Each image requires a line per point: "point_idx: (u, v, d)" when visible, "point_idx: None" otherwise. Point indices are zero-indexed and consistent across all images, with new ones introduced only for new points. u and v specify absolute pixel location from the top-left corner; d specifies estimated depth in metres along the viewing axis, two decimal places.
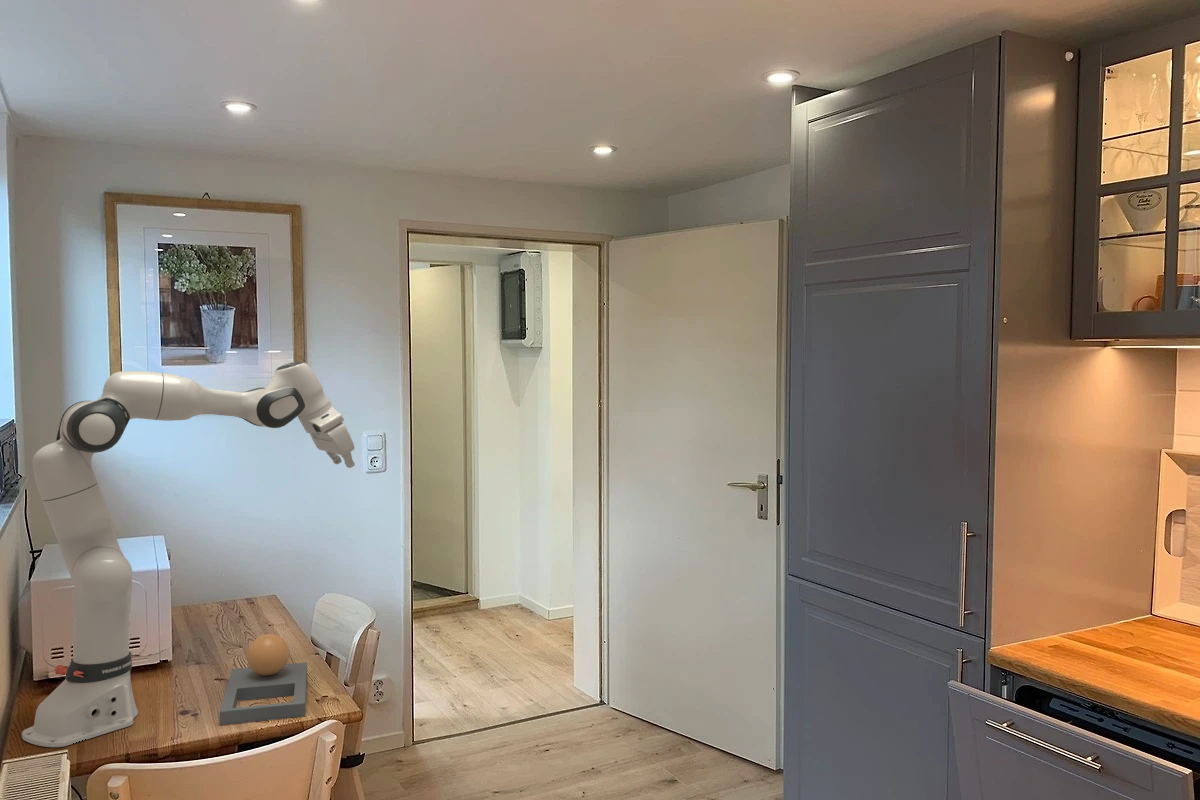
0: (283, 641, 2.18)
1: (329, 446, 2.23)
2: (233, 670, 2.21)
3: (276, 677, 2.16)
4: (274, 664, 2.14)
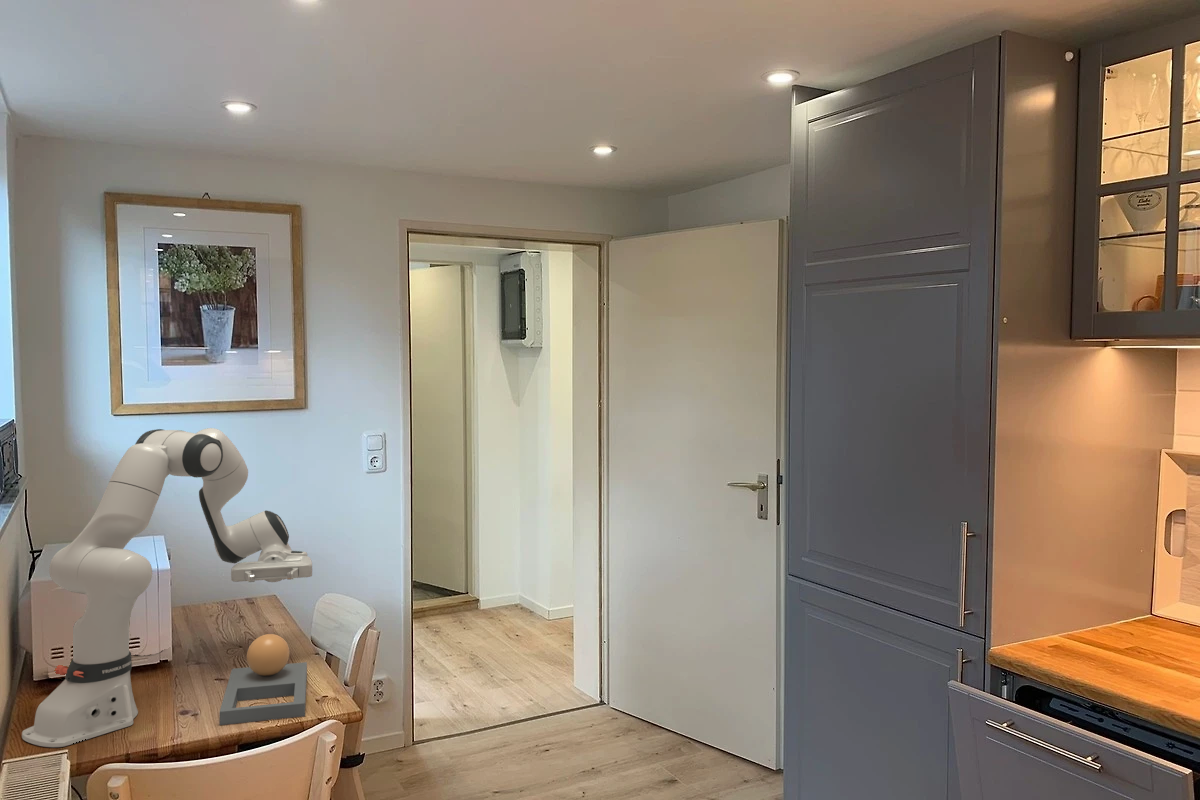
0: (283, 641, 2.18)
1: (281, 563, 2.33)
2: (233, 670, 2.21)
3: (276, 677, 2.16)
4: (274, 664, 2.14)
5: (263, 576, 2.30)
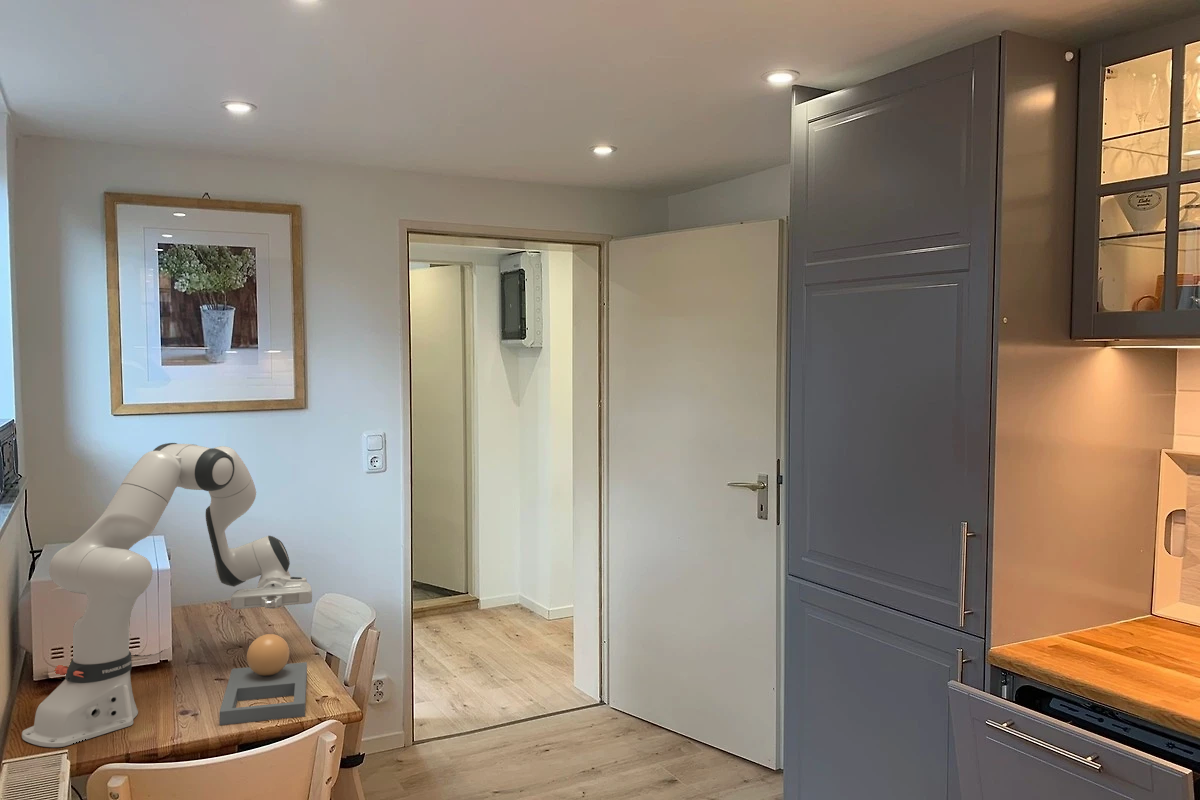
0: (283, 641, 2.18)
1: (281, 590, 2.34)
2: (233, 670, 2.21)
3: (276, 677, 2.16)
4: (274, 664, 2.14)
5: None
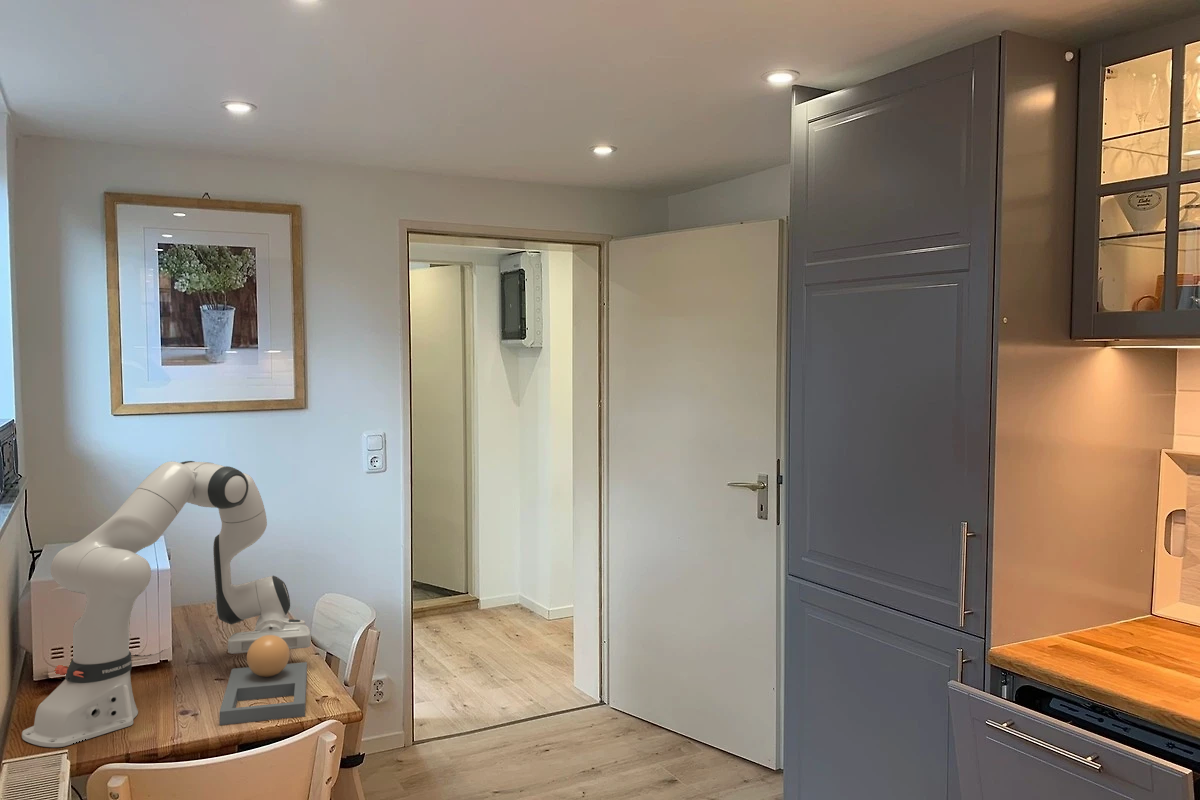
0: (283, 643, 2.17)
1: (279, 634, 2.29)
2: (233, 670, 2.21)
3: (276, 677, 2.16)
4: (274, 667, 2.13)
5: None
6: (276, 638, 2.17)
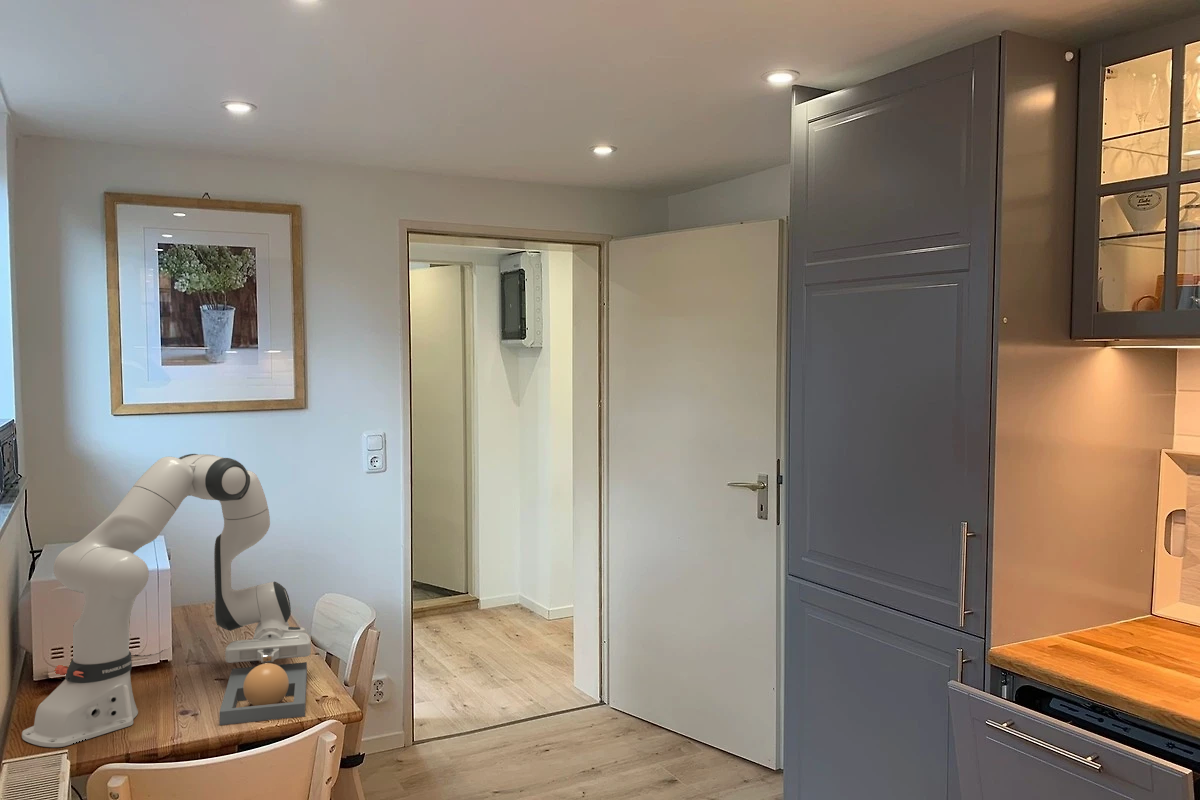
0: None
1: (278, 642, 2.22)
2: (233, 670, 2.21)
3: None
4: None
5: None
6: None
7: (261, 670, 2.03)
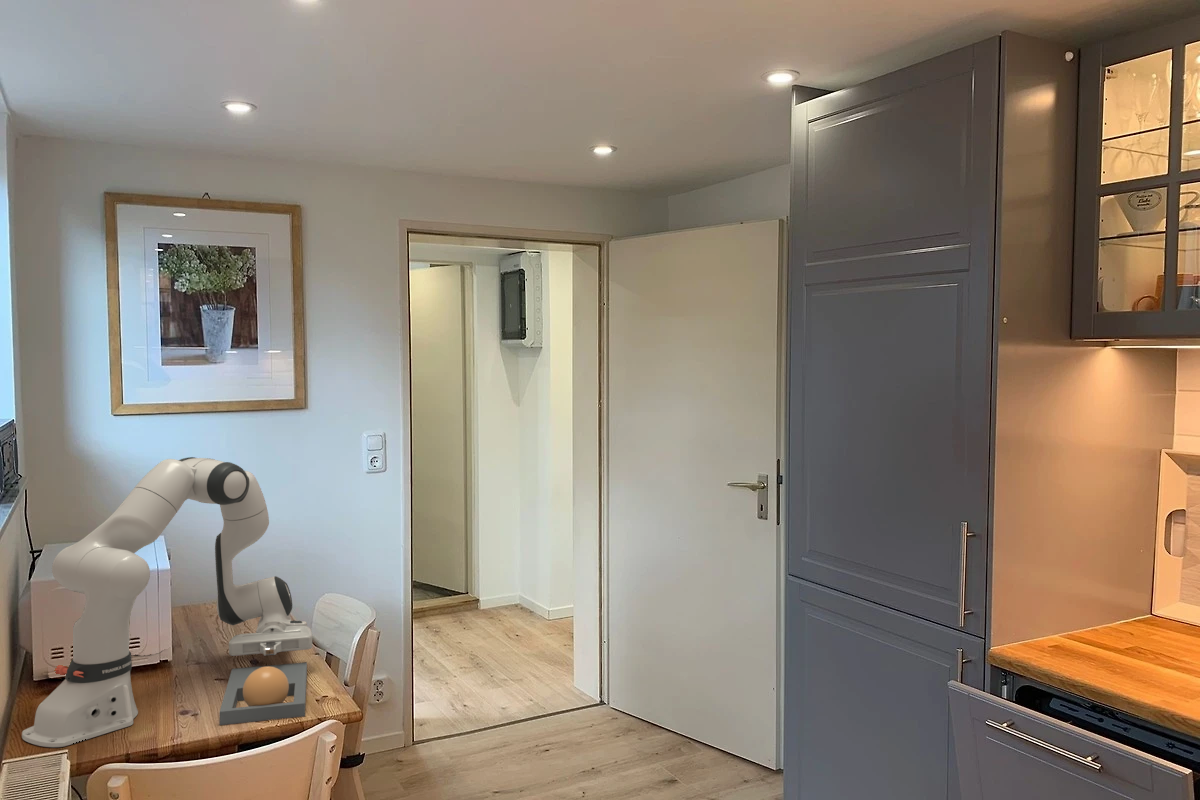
0: None
1: (281, 635, 2.26)
2: (233, 670, 2.21)
3: None
4: None
5: None
6: None
7: (260, 682, 1.99)
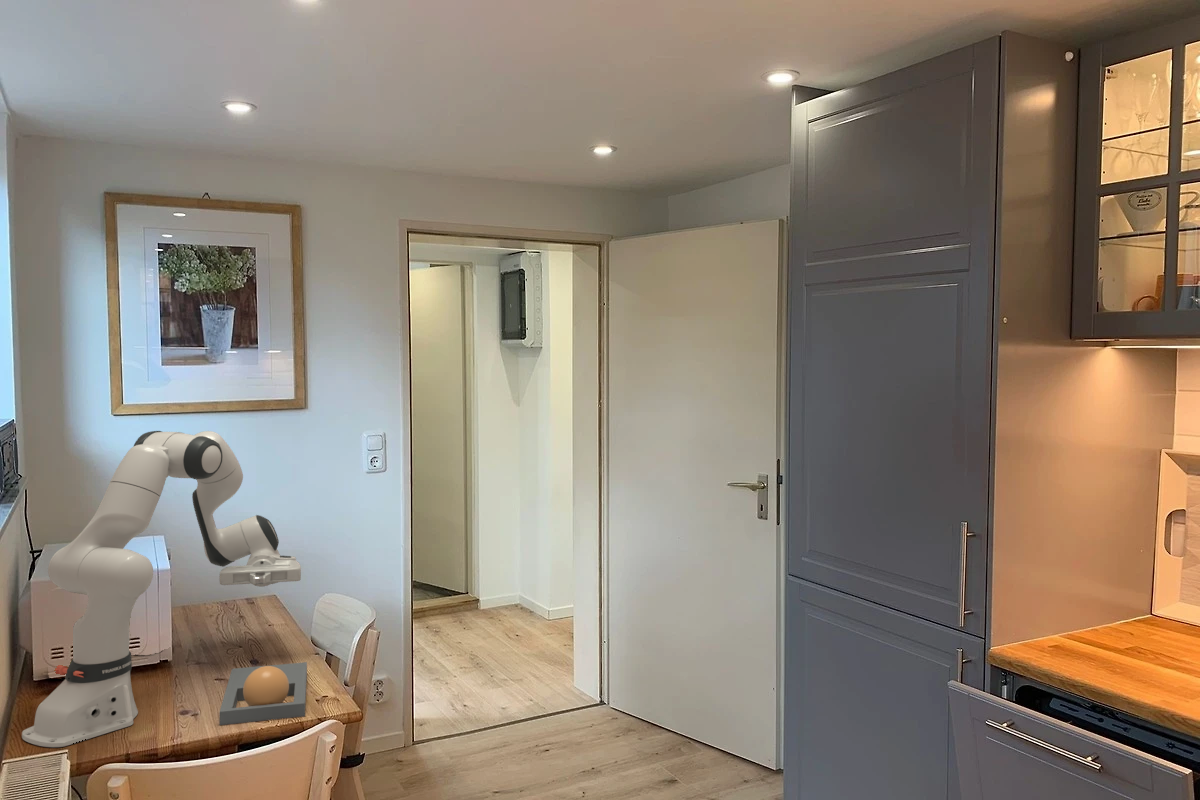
0: None
1: (270, 567, 2.34)
2: (233, 670, 2.21)
3: None
4: None
5: None
6: None
7: (261, 680, 1.99)
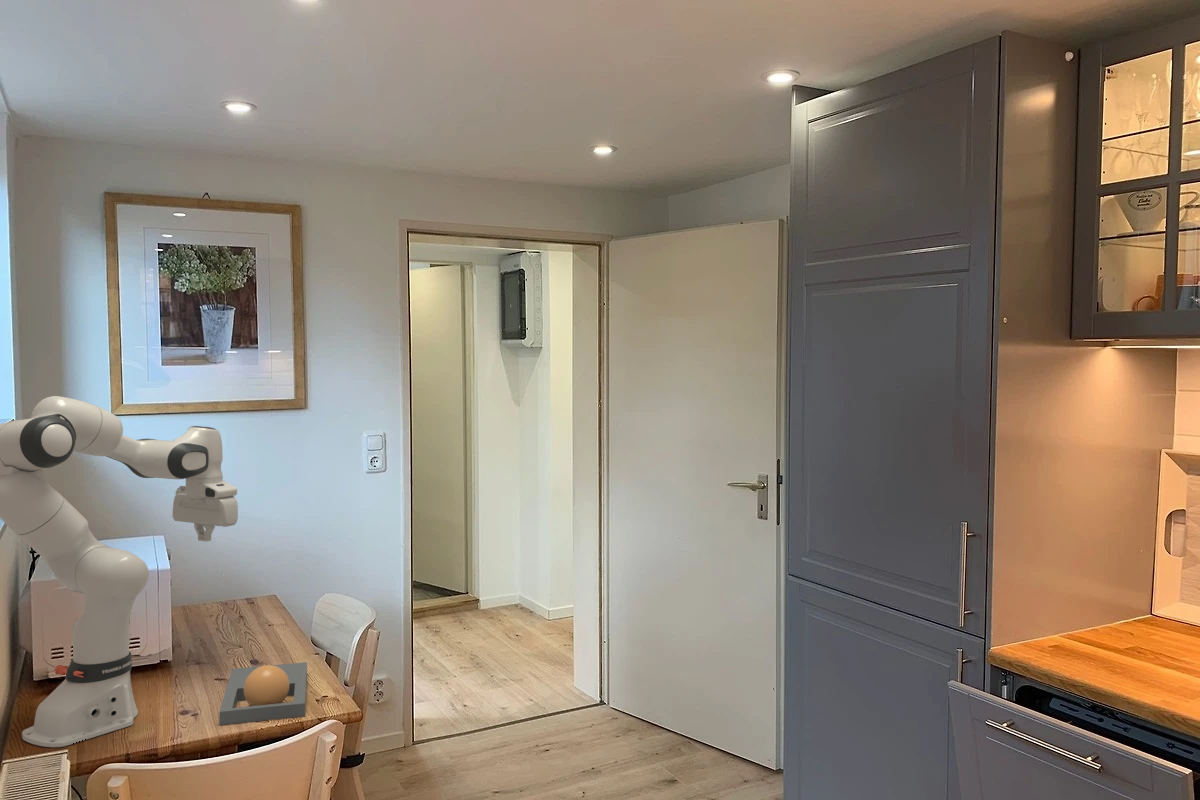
0: None
1: (205, 516, 2.25)
2: (233, 670, 2.21)
3: None
4: None
5: None
6: None
7: (261, 676, 2.00)
